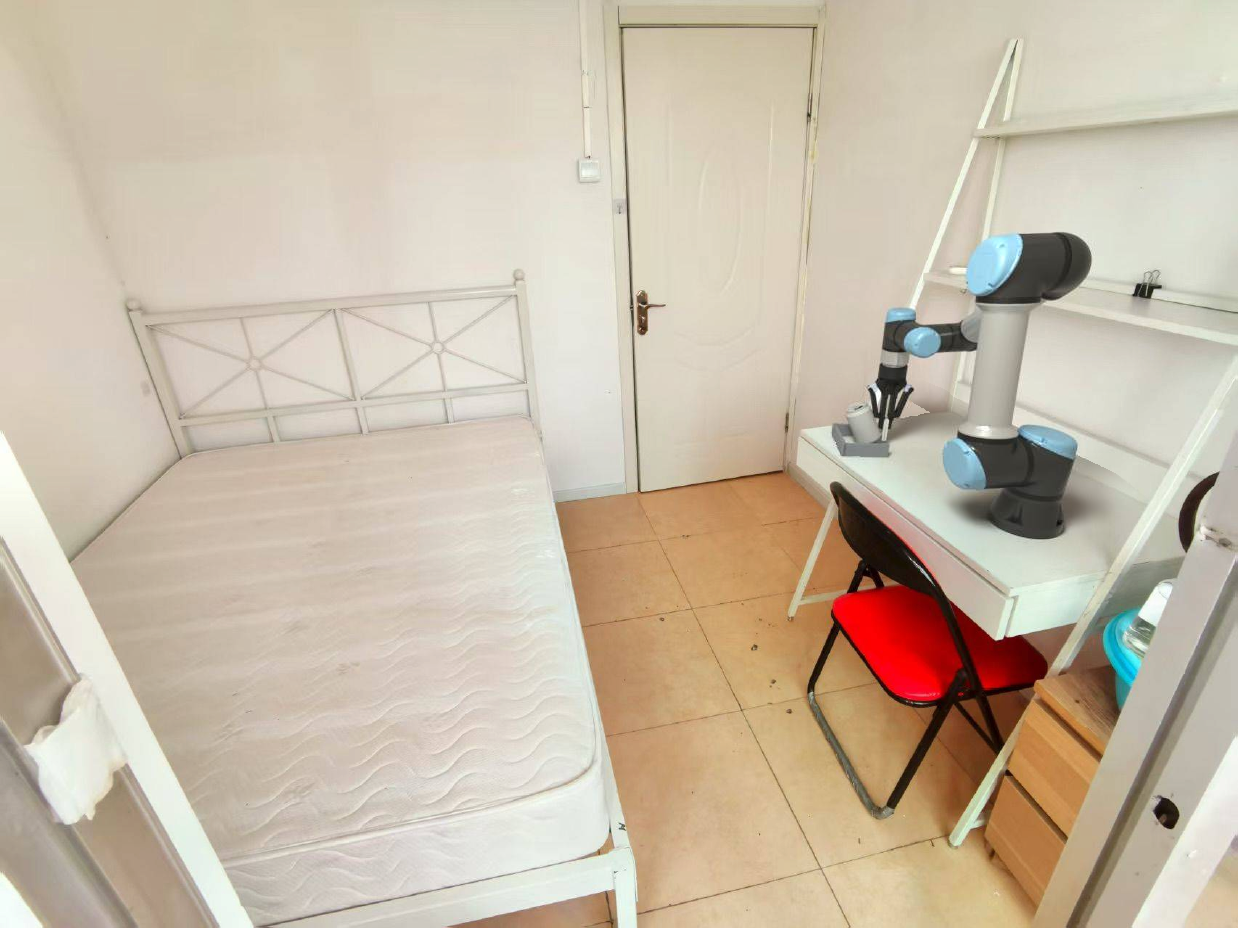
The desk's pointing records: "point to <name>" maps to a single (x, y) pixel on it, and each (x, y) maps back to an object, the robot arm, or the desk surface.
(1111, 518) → the desk surface
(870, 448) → the box
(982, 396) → the robot arm
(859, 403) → the can
